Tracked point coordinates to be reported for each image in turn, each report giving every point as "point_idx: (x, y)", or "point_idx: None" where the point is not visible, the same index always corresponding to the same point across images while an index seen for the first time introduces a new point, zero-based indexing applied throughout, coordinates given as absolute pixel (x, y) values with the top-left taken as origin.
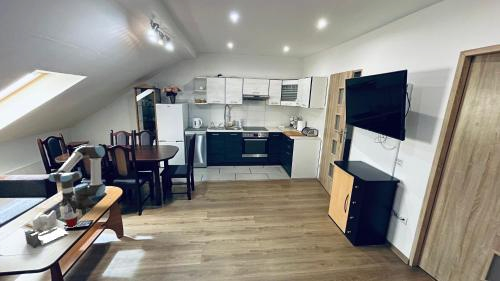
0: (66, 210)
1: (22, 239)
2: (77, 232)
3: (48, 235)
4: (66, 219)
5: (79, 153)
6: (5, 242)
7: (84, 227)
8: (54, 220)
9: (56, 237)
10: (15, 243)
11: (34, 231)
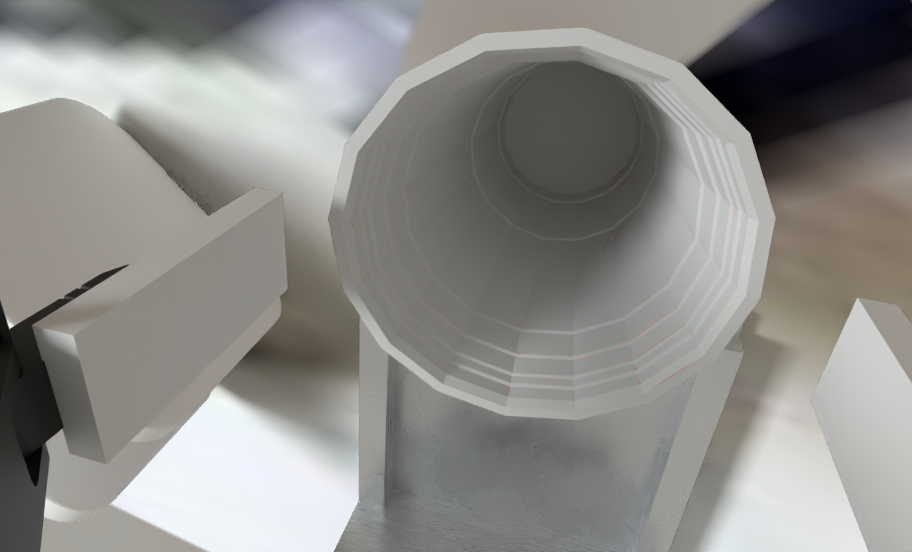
0: (243, 270)
1: (279, 498)
2: (871, 227)
3: (474, 417)
4: (596, 389)
5: None
6: (208, 547)
7: (866, 38)
8: (125, 182)
9: (693, 474)
10: (306, 549)
11: None
